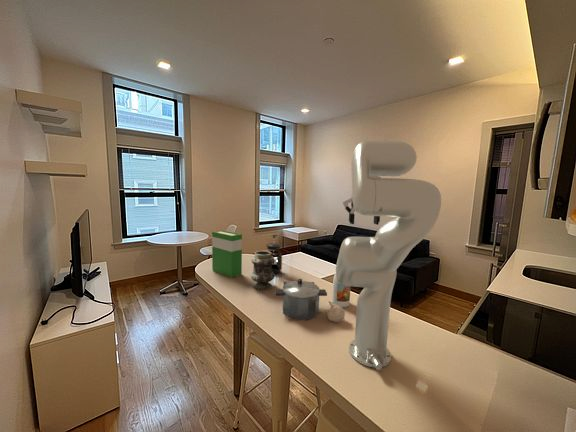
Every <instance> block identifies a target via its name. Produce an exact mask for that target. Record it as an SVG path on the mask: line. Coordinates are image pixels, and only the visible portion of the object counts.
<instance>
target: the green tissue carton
mask: <svg viewBox="0 0 576 432" xmlns="http://www.w3.org/2000/svg"><path fill="white" fill-rule="evenodd" d="M211 237H212V238H211V239H212V240H211V242H212V243H211V248H212V249H211V250H212V252H211V253H212V254H211V255H212V256H211V258H212V259H211V260H212V261H211V262H212V266H211V267H212V270H213V271H212V272H215V271H216V272H215V273H217V272H219V273H218V274H220V273H221V274H220V275H223V274H224V275H223V276H225V275H227V276H226V277H228V276H229V277H228V278H231V277H233V278H235V277H234V276H236V277H237V275H238V276H241V275H242V271H243V268H242V266H243V265H242V262H243V261H242V260H243V258H242V257H243V254H242V252H243V244H242V243H243V234H242V233H239V232H233V231H229V230H225V229H222V230H220V231H218V232H217V231H212V232H211ZM240 274H241V275H240Z"/></svg>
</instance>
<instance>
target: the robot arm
mask: <svg viewBox="0 0 576 432" xmlns="http://www.w3.org/2000/svg"><path fill="white" fill-rule="evenodd" d="M352 152H353V153H352V156H351V190H352V191H351V198H348V199H345V200H344V201H343V202H342V204H343V206H344V209H345V210H346V212H348V222H349V224H351V225H354V224H355V217H356V216H355V215H356V214H355V212H356V213H358V214H360V215H363V216H367V217H373V224H375V225H377V226H379V224H380V221H381V220H380V219H381V217H389V218H391V217H392V218H393V217H394V218H393V219H390V220H389V221H387V222H385V223H384V224H383V225H382V226H381V227H379V229H378V230H377V231H376V233H375V236H348V237H346V238H344V239H343V241H342V243H341V245H340V248H339V253H338V256H337V261H336V265H335V273H336V277H337V280H338V282H339V283H340V284H342V285H344V286H350V287H353V288H354V287H357V288H363V289H362V290H361V292H360V293H359V294H358V296H357V303H356V317H355V330H354V331H355V332H354V339H353V340H352V341H351V342H350V343H349V346H348V351H349V353H350V355H351V357H352V358H353V359H354V360H355V361H356V362H358V363H360V364H362V365H363V366H365V367H368V368H374V369H375V370H377V371H381V370H382V369H383V368H384V367H387V366H389V365H390V363H391V362H392V354H391V351H390V350H389V348H388V346H387V345H388V332H389V323H390V309H391V301H392V294H393V291H394V290H393V289H394V286H395V282H396V279H397V273H398V272H397V271H398V270H397V269H398V268H400V266H401V265H402V263H403V262H404V260H405V259H406V258H407V256H408V255H409V253H410V252H411V251H412V250H413V248H415V247H416V245H418V244H419V243H420V242H421V241H423V240H424V239H425V238H426V237H427V236H428V235H429V234H430V232H431V231H432V229H433V228H434V227H435V224H436V223H437V221H438V219H439V215H440V212H441V207H442V194H441V191H440V190H439V188H438V187H437V186H436V185H435V184H434V183H431V182H429V181H425V180H422V179H417V178H416V179H415V178H393V177H400V176H404V175H405V174H407V173H410V172H411V171H412V169H413V168H414V167H415V165H416V163H417V152H416V151H415V149H414V147H413V146H412V145H410V144H409V143H407V142H405V141H402V140H387V139H386V140H364V141H363V140H362V141H360V142H359V143H358V144H357V145H356V146H355V148H354V150H353V151H352ZM384 177H385V178H384ZM386 177H387V178H386ZM391 177H392V178H391ZM349 204H350V207H349Z"/></svg>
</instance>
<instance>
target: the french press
mask: <svg viewBox="0 0 576 432" xmlns="http://www.w3.org/2000/svg"><path fill="white" fill-rule="evenodd" d="M270 236H271V237H272V238H273V239H276V237H278V234H270ZM281 247H282V244H281V243H276V242H271V243H267V244H266V249H267V250H269V252H271V255H272V257H273V258H274V263H273V264H272V272H273V273H274V276H276V275H280V274H281V272H282V265H283V263H282V262H283V259H282V258H283V255H282V252H281V251H279V250H281ZM275 258H276V259H275Z"/></svg>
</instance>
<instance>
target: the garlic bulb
mask: <svg viewBox="0 0 576 432" xmlns="http://www.w3.org/2000/svg"><path fill="white" fill-rule="evenodd" d="M328 303H329V306H327V309H326V310H327V311H326V317H327V319H328V320H329V321H331V322H334V323H339V322H342V321H344V319H345V315H346V314H345V313H346V312H345V310H344V307H340V306H338V305H336V304H333V303H332V301H328Z"/></svg>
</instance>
